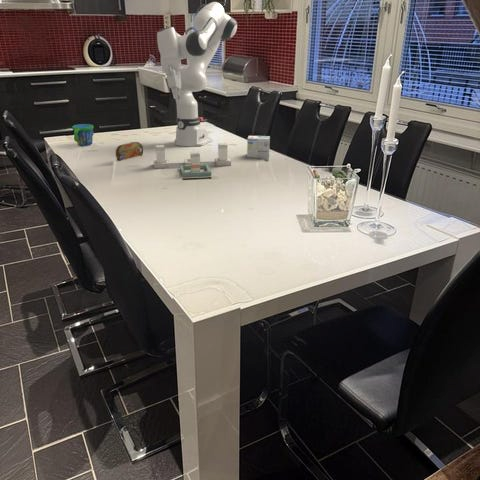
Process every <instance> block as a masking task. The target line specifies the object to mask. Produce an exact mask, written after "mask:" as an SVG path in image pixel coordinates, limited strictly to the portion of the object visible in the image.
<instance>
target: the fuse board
mask: <svg viewBox="0 0 480 480" xmlns="http://www.w3.org/2000/svg"><path fill="white" fill-rule="evenodd" d="M184 165H191V158H184V162H169V159H165V163H157V159H153V168H154V170H168V169H169V170H171V169H172V170H173V169H180V166H184ZM200 165H208V167H209V168H217V167H218V168H219V167H232V160H231V159H230V157H229V156H227V160H225V161H219V160H218V157H214V160H213V161H200Z"/></svg>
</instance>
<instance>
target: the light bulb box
mask: <svg viewBox="0 0 480 480" xmlns="http://www.w3.org/2000/svg"><path fill="white" fill-rule="evenodd" d="M270 139H271V136H270V135H268V136H267V135H248V137H247V141H246V143H247V147H246V148H247V149H246V150H247V151H246V152H247V153H246V158H260V159H262V161H269V159H270V143H271V142H270V141H271V140H270Z"/></svg>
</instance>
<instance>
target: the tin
mask: <svg viewBox="0 0 480 480" xmlns="http://www.w3.org/2000/svg"><path fill="white" fill-rule="evenodd" d="M143 154H144V147H143V145H142V143H140V142H138V141H130V142H127V143H123V144H120V145H118V146H117V147H116V149H115V157H116V159H117V160H118V161H124V160H125V161H126V160H127V159H132V158H137V157H142V156H143Z"/></svg>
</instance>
